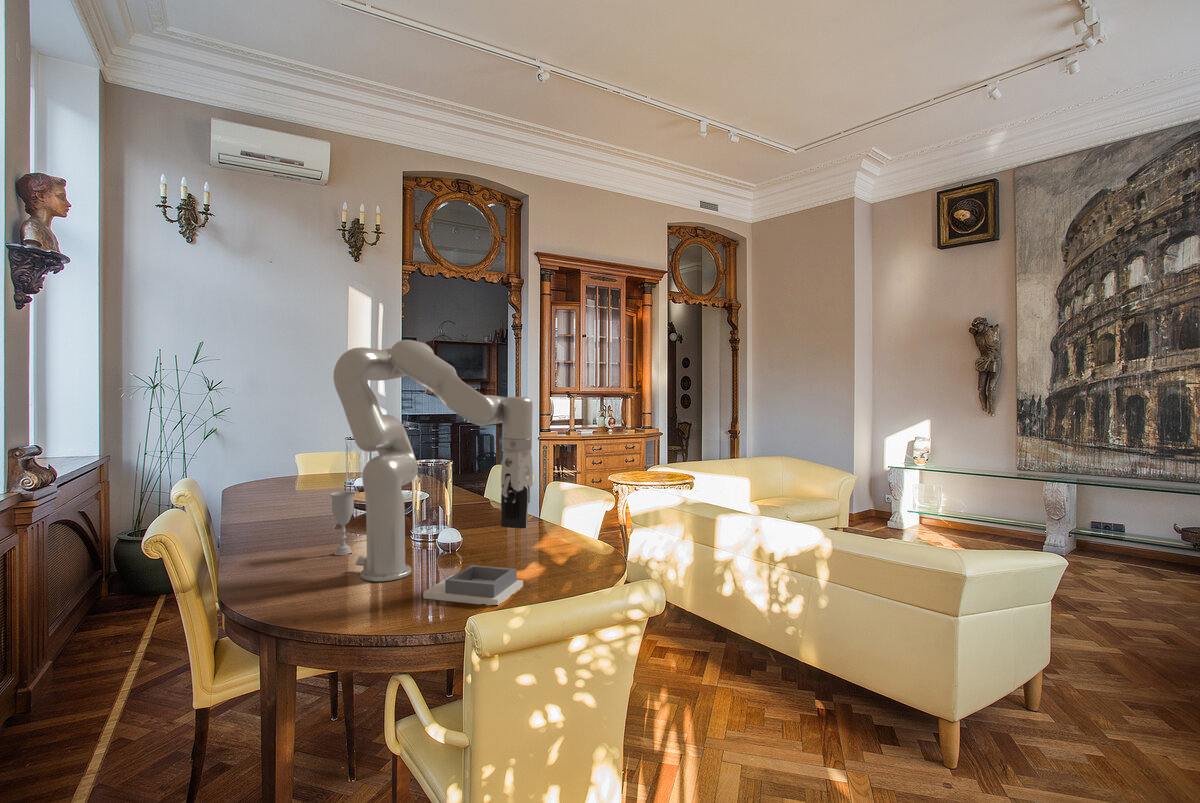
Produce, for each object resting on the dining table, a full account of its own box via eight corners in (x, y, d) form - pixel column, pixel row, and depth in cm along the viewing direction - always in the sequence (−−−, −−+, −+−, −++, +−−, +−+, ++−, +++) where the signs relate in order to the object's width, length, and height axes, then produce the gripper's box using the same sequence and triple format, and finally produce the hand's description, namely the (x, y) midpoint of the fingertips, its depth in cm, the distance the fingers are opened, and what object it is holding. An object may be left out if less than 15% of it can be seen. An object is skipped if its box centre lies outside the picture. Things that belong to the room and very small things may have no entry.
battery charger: (530, 526, 154) (531, 482, 154) (526, 529, 150) (527, 484, 150) (504, 524, 155) (505, 480, 155) (499, 527, 152) (500, 482, 151)
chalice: (361, 552, 178) (360, 492, 178) (340, 558, 173) (339, 496, 172) (346, 549, 182) (345, 490, 182) (325, 554, 177) (324, 493, 176)
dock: (423, 598, 139) (423, 579, 139) (454, 579, 153) (454, 562, 152) (497, 606, 134) (497, 586, 134) (522, 586, 147) (522, 568, 147)
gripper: (516, 448, 143) (515, 524, 144) (542, 443, 159) (541, 511, 160) (488, 447, 145) (486, 522, 146) (517, 441, 161) (515, 509, 162)
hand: (515, 515), depth 153 cm, fingers closed on battery charger, 4 cm apart
